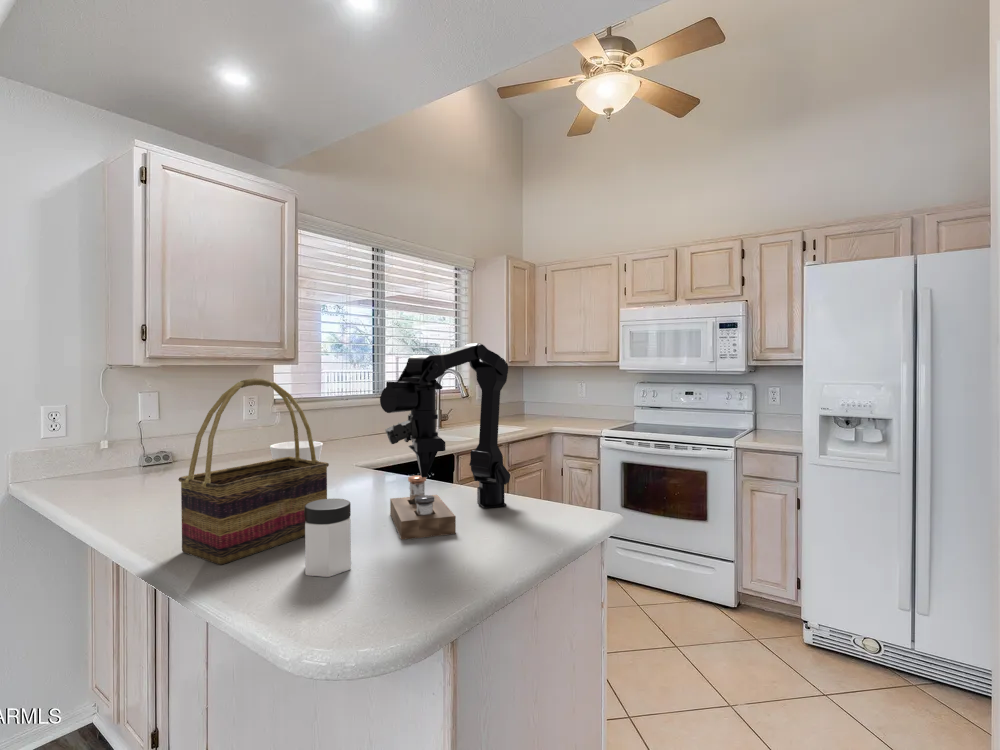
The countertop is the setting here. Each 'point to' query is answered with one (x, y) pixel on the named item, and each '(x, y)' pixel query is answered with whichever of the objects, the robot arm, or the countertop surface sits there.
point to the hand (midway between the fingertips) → (423, 477)
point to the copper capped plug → (416, 487)
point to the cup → (289, 450)
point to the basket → (248, 495)
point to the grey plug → (424, 505)
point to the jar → (327, 537)
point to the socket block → (421, 519)
